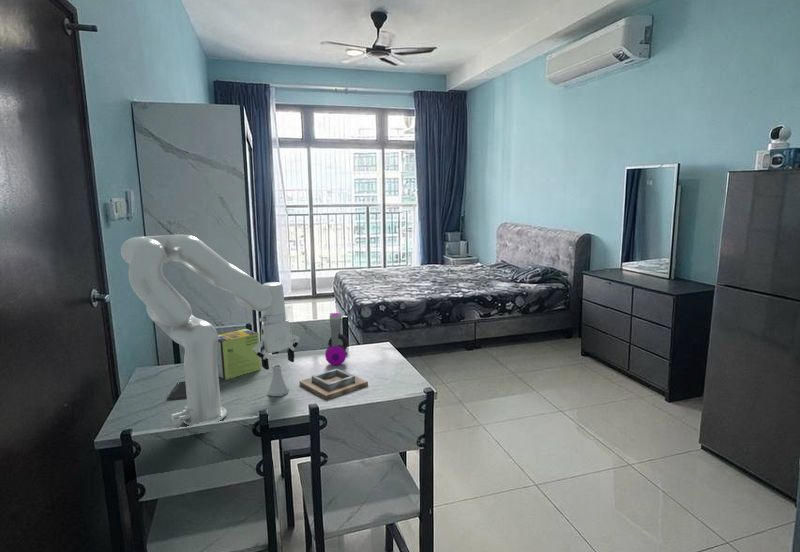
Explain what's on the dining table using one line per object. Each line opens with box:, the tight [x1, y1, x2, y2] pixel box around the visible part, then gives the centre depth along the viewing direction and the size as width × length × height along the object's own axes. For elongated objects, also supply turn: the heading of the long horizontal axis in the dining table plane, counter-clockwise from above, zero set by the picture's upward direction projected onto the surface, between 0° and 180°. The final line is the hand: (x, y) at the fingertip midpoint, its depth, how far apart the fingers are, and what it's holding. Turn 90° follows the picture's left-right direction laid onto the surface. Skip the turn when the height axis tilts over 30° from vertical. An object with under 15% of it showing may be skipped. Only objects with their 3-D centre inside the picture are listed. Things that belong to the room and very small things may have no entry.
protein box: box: [217, 328, 262, 381], centre depth 183 cm, size 10×15×16 cm
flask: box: [267, 364, 290, 397], centre depth 162 cm, size 7×7×10 cm
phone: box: [166, 381, 187, 400], centre depth 166 cm, size 8×1×15 cm
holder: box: [298, 368, 369, 401], centre depth 169 cm, size 18×18×4 cm
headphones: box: [324, 312, 349, 366], centre depth 197 cm, size 21×9×20 cm, turn 4°
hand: (278, 364), depth 162 cm, fingers open, 9 cm apart
